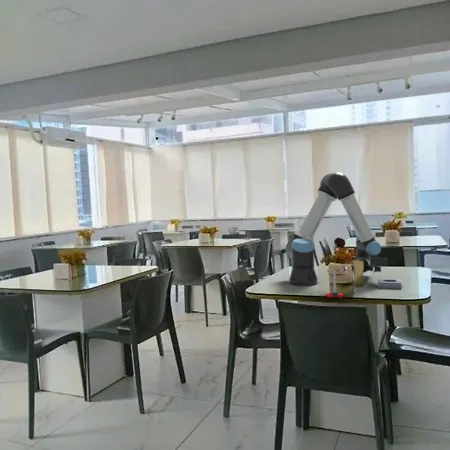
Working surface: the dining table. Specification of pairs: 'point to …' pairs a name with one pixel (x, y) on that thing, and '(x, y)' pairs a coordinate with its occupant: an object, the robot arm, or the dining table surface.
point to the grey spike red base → (334, 290)
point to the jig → (389, 283)
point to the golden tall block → (358, 273)
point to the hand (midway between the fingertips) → (359, 271)
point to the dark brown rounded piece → (339, 242)
